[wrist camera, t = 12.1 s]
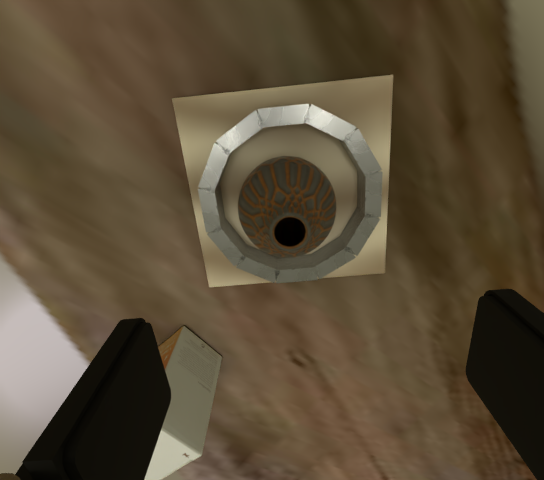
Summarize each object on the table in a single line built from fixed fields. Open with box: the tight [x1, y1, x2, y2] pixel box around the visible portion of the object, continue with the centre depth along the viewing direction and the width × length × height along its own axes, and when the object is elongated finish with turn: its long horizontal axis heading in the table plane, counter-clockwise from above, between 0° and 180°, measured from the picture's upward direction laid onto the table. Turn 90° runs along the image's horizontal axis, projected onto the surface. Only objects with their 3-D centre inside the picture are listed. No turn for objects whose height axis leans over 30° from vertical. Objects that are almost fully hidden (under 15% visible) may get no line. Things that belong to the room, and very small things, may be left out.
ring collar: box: [198, 104, 383, 283], centre depth 25 cm, size 13×13×2 cm
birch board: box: [172, 75, 393, 287], centre depth 27 cm, size 16×16×1 cm
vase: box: [238, 156, 337, 258], centre depth 22 cm, size 7×7×9 cm
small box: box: [144, 326, 222, 480], centre depth 29 cm, size 8×6×10 cm
